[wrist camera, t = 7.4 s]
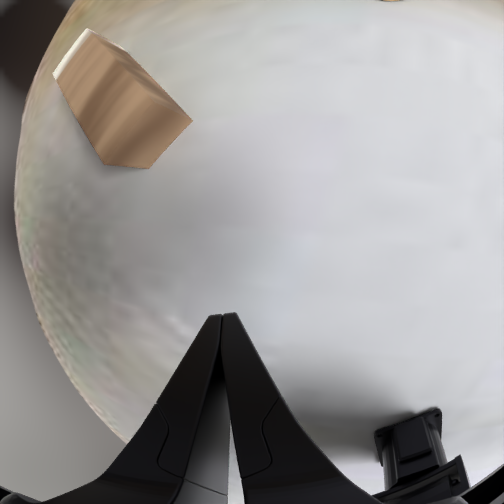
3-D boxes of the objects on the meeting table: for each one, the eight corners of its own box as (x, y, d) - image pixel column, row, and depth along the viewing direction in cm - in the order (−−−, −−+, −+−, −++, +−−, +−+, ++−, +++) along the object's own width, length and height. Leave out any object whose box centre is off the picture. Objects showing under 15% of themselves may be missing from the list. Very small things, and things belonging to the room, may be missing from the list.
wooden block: (154, 101, 13) (86, 28, 13) (104, 164, 15) (52, 73, 15) (193, 120, 18) (120, 46, 18) (148, 168, 19) (89, 85, 20)
